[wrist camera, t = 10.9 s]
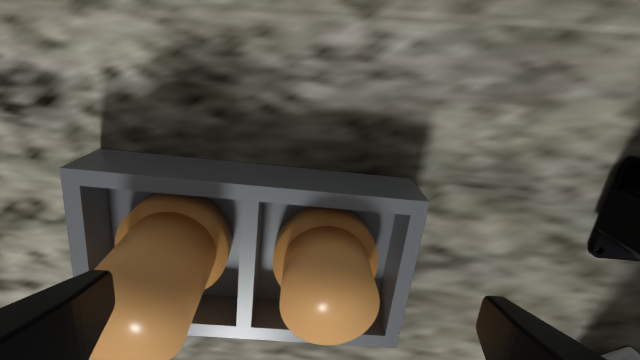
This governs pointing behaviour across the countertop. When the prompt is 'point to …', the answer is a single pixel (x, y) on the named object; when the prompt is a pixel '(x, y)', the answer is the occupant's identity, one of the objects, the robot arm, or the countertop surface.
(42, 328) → the robot arm
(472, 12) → the countertop surface
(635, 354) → the syrup box
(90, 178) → the gray divided tray
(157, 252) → the tan pear-shaped knob
